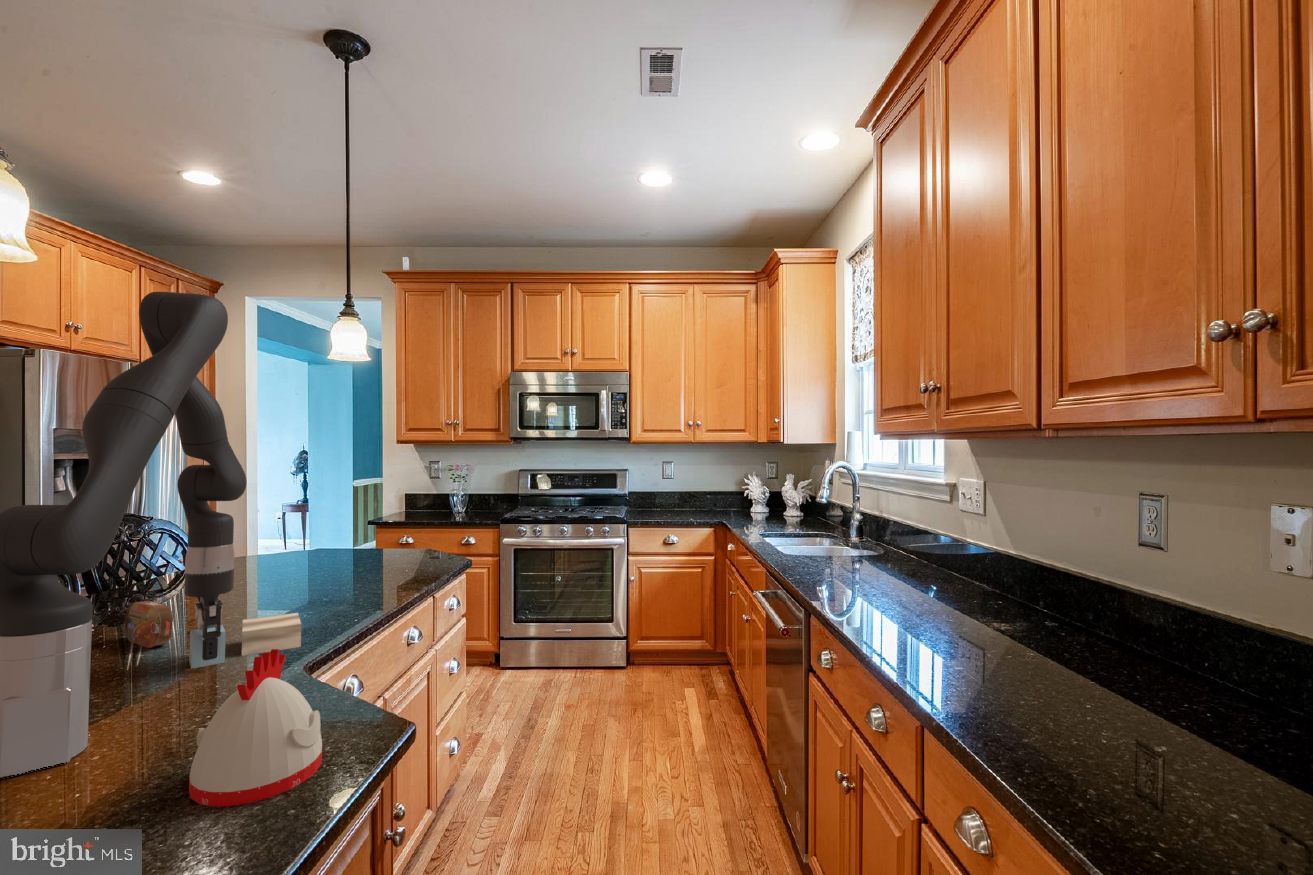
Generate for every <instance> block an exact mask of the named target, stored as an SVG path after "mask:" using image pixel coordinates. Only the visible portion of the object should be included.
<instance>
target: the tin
mask: <svg viewBox="0 0 1313 875" xmlns="http://www.w3.org/2000/svg"><path fill="white" fill-rule="evenodd" d="M173 622H174V615H173V611H172V610H171V607H169V606H168V605H166V604H161V603H157V602H153V601H148V600H147V601H146V600H145V601H135V602H132V603H131V604H130V605H129V606H128V608H127V611H126V614H125V618H124V629H125V634H126V638H127V640H128V641H129V642H130V643H131V642H132V643H131V644H134V643H135V644H134V645H139V646H142V647H144V648H146V649H147V648H148V649H151V648H155V647H159V646H160V647H161V646H164V645H166V644H167V643H168V642H169V641H170V639H171V638H172V632H173V626H174V625H173V624H174V623H173Z"/></svg>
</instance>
